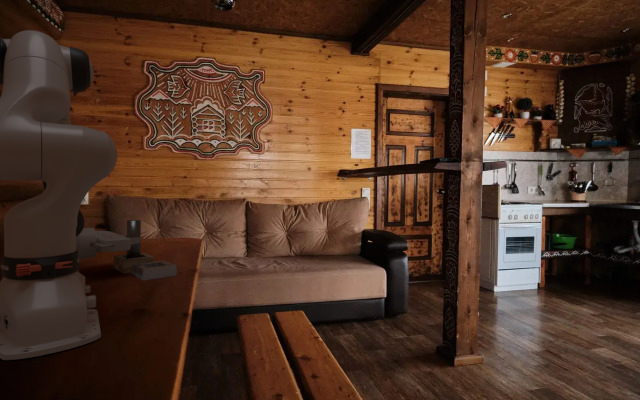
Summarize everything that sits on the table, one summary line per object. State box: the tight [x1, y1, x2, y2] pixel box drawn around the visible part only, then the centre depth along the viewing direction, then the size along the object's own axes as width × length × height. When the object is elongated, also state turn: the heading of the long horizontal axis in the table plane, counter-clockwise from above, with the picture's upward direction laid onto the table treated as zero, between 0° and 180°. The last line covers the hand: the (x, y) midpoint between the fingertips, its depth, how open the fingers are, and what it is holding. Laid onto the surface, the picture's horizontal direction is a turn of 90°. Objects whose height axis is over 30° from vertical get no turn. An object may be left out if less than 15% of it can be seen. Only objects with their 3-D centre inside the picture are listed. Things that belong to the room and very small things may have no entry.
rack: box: [113, 252, 155, 274], centre depth 122 cm, size 9×9×4 cm
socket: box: [131, 259, 178, 282], centre depth 115 cm, size 10×10×3 cm
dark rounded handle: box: [126, 219, 142, 259], centre depth 122 cm, size 4×4×14 cm
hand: (136, 239), depth 123 cm, fingers closed on dark rounded handle, 4 cm apart
